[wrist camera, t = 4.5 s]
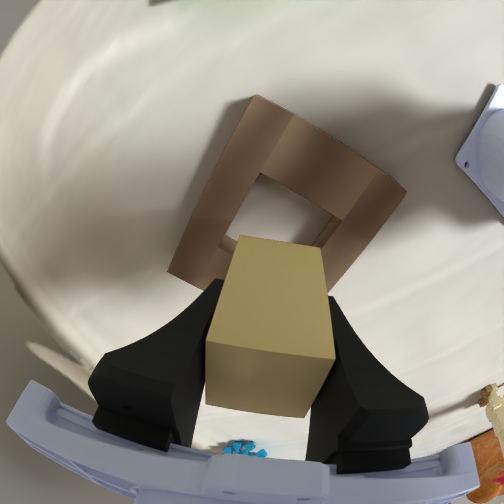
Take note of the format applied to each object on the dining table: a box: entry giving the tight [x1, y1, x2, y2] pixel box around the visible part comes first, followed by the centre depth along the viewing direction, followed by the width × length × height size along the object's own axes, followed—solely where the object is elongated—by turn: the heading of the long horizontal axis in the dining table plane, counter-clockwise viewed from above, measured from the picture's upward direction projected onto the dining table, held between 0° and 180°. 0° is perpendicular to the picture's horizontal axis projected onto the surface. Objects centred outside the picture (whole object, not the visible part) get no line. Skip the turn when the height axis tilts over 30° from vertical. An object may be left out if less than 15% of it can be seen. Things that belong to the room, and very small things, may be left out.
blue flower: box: [223, 442, 267, 457], centre depth 40 cm, size 11×6×10 cm
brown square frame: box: [167, 95, 407, 293], centre depth 20 cm, size 11×14×2 cm
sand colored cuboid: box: [205, 235, 336, 418], centre depth 13 cm, size 4×4×7 cm
